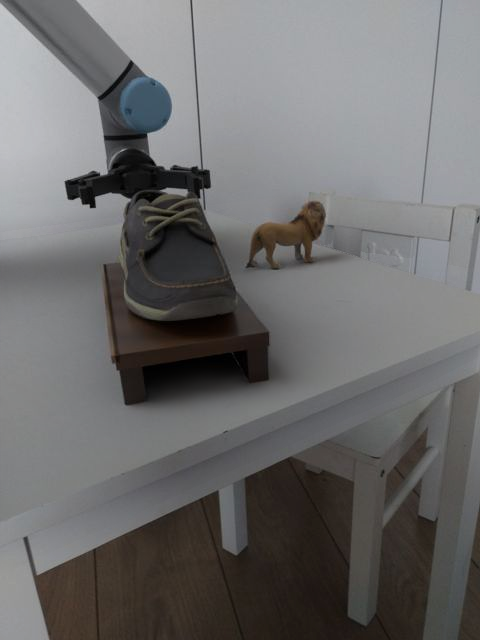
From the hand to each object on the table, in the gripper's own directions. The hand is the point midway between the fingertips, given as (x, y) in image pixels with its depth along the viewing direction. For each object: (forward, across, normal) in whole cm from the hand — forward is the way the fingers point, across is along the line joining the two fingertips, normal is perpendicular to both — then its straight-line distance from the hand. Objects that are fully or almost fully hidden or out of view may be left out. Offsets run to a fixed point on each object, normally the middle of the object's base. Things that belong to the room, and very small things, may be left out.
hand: (145, 192), depth 74 cm
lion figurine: (-7, -21, -14) cm, 26 cm away
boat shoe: (+16, 0, -9) cm, 18 cm away
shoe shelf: (+16, 0, -14) cm, 21 cm away
